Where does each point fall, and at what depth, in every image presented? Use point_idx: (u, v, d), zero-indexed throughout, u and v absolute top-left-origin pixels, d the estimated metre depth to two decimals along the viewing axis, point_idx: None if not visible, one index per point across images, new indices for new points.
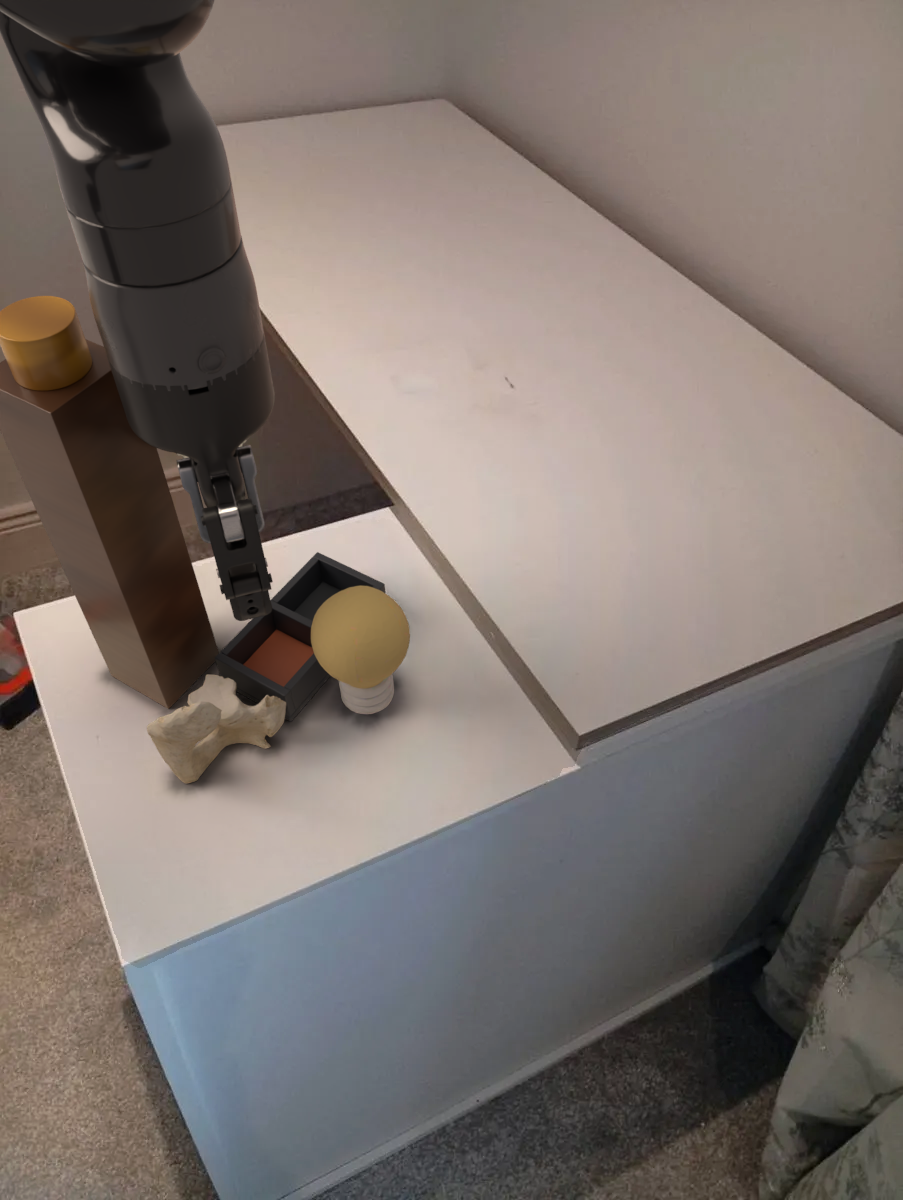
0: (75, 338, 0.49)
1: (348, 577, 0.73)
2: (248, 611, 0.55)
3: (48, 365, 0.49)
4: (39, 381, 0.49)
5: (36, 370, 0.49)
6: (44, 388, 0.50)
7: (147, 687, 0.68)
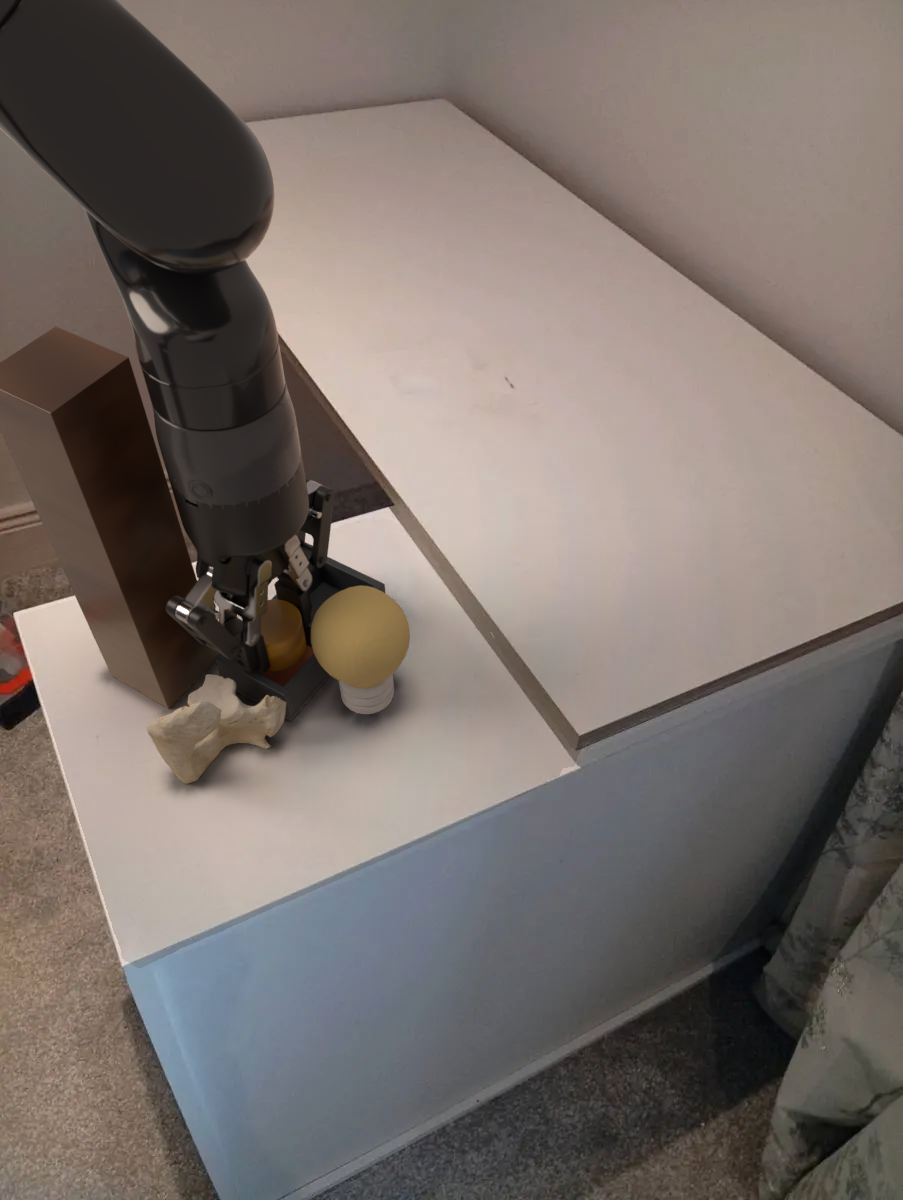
0: (301, 635, 0.66)
1: (348, 577, 0.73)
2: (241, 662, 0.65)
3: (282, 657, 0.66)
4: (273, 666, 0.67)
5: (273, 660, 0.66)
6: (276, 670, 0.67)
7: (147, 687, 0.68)
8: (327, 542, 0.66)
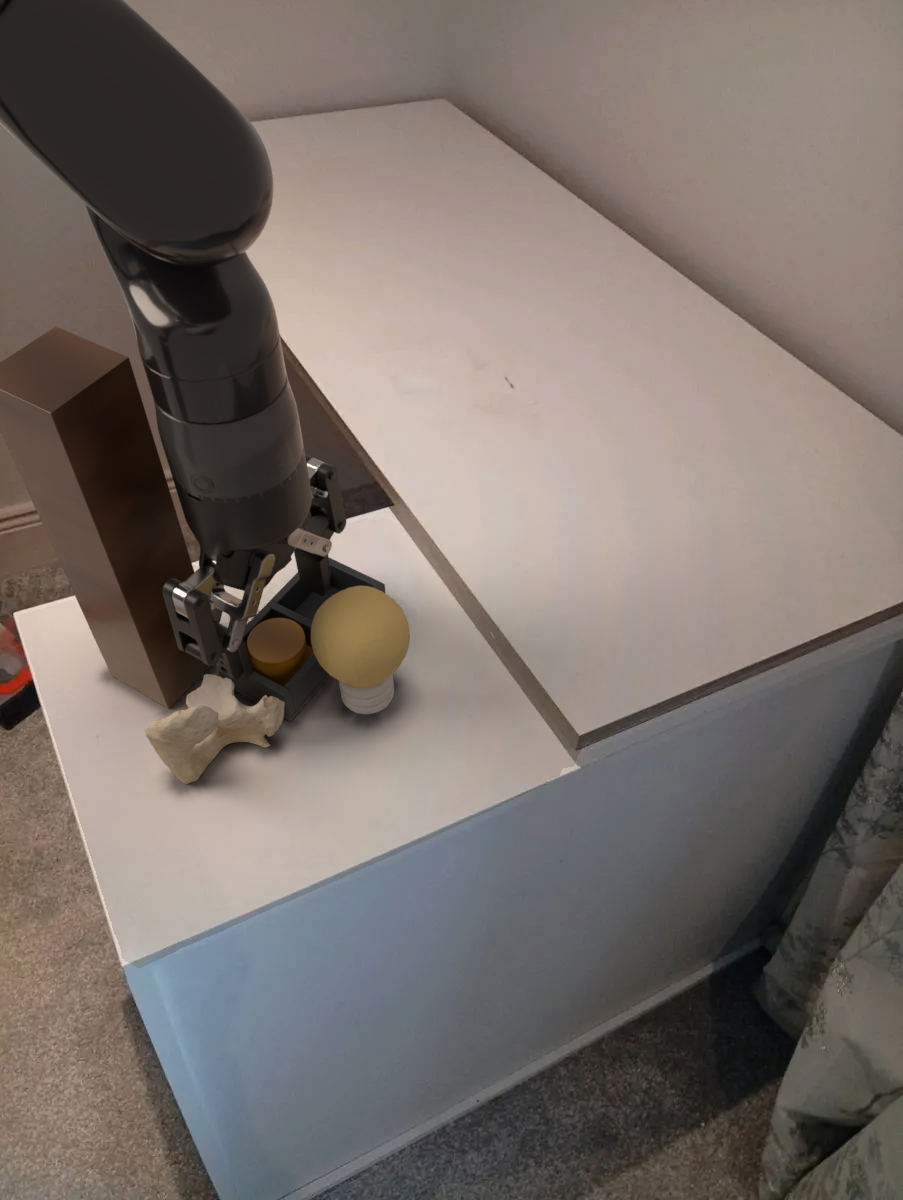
0: (304, 653, 0.68)
1: (348, 577, 0.73)
2: (223, 668, 0.63)
3: (286, 674, 0.67)
4: (277, 683, 0.68)
5: (277, 678, 0.68)
6: None
7: (147, 687, 0.68)
8: (342, 509, 0.66)
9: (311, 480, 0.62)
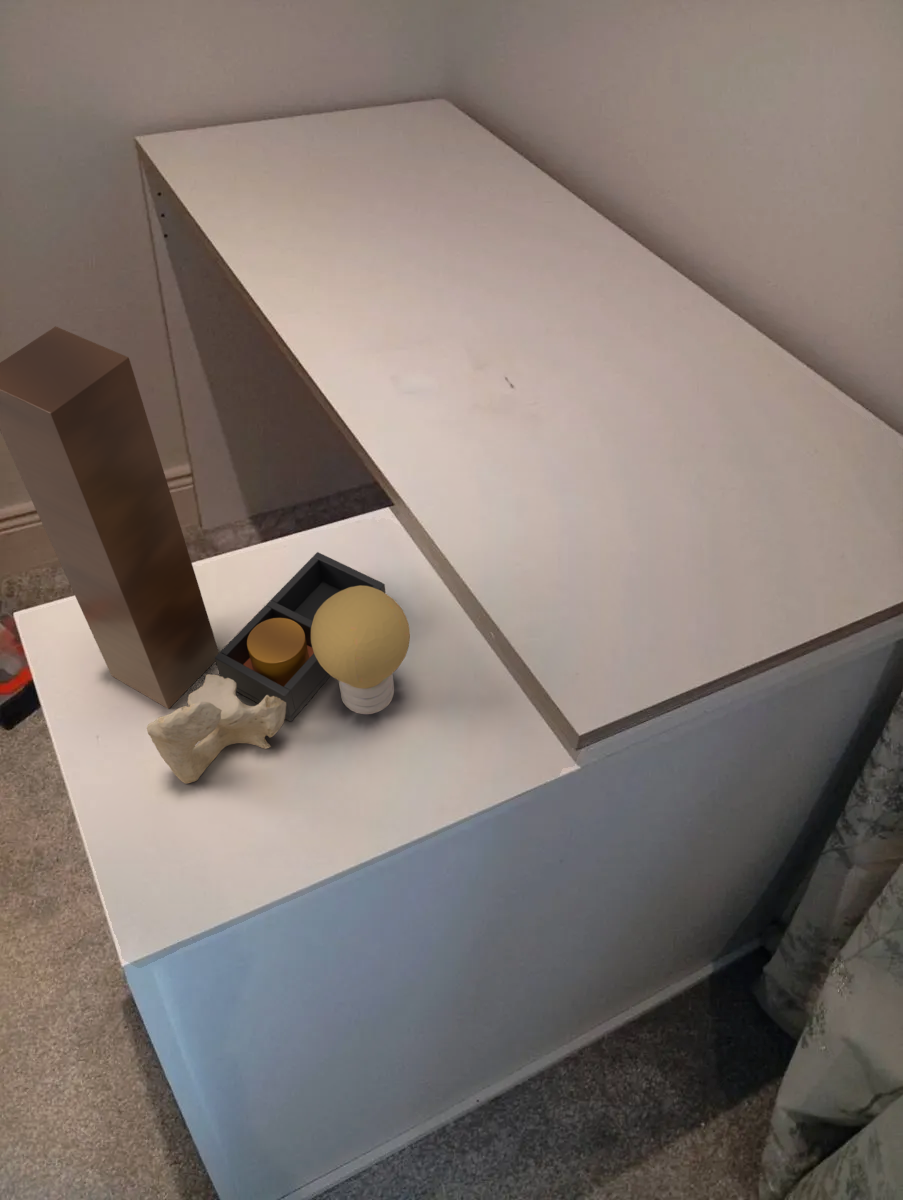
0: (304, 653, 0.68)
1: (348, 577, 0.73)
2: None
3: (286, 674, 0.67)
4: (277, 683, 0.68)
5: (277, 678, 0.68)
6: None
7: (147, 687, 0.68)
8: None
9: None
